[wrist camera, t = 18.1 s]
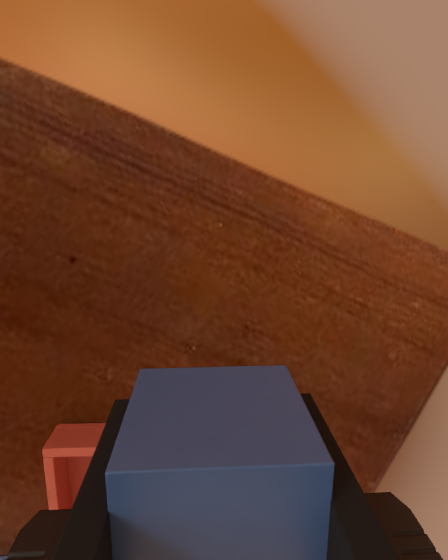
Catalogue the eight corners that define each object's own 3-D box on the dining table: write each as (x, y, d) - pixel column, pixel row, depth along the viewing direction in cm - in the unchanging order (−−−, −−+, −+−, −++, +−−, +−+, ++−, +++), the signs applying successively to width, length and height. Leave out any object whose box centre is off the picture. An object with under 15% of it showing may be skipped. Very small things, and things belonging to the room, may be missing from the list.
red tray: (57, 423, 25) (41, 448, 22) (248, 418, 25) (253, 442, 23) (73, 578, 27) (60, 616, 25) (246, 570, 28) (250, 606, 25)
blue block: (139, 368, 12) (103, 473, 7) (286, 364, 12) (335, 463, 8) (146, 494, 13) (118, 652, 8) (281, 488, 13) (322, 638, 9)
